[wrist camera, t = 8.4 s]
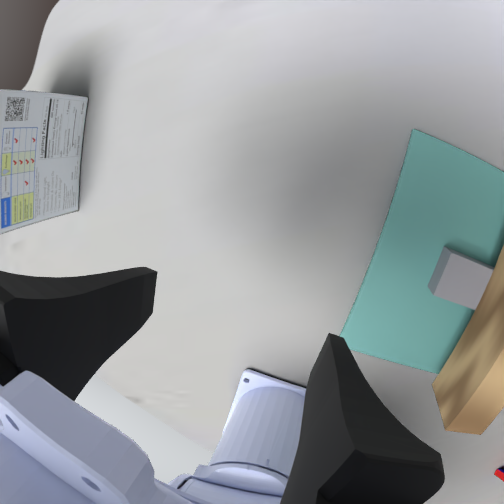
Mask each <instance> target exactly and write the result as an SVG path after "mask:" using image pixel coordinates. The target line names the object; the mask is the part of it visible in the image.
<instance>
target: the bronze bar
mask: <svg viewBox="0 0 504 504" xmlns="http://www.w3.org/2000/svg"><path fill="white" fill-rule="evenodd" d="M432 386H433V390H434V393H435V396H436V399H437V403H438V406H439V410H440V413H441V417H442V420H443V424H444V428H445V430H447V431H454V432H462V433H470V434H479V435H481V434H482V433H483V432H484V431H485V429H486V428H487V427H488V426H489V425H490V423H491V422H492V421H493V420H494V419H495V417H496V416H497V415H498V414H499V412H500V411H501V410H502V409H503V407H504V245H503V247H502V250H501V253H500V255H499V258H498V260H497V263H496V265H495V268H494V270H493V273H492V275H491V277H490V280H489V282H488V284H487V286H486V289H485V291H484V293H483V295H482V297H481V299H480V302H479V304H478V306H477V308H476V310H475V312H474V314H473V316H472V318H471V320H470V321H469V323H468V325H467V327H466V329H465V331H464V333H463V334H462V336H461V338H460V340H459V342H458V343H457V345H456V347H455V349H454V350H453V352H452V354H451V355H450V357H449V359H448V360H447V362H446V363H445V365H444V367H443V368H442V370H441V371H440V373H439V374H438V376H437V378H436V379H435V381H434V382H433V384H432Z"/></svg>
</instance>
